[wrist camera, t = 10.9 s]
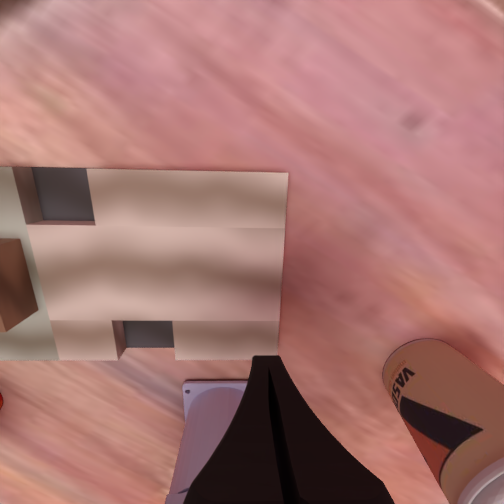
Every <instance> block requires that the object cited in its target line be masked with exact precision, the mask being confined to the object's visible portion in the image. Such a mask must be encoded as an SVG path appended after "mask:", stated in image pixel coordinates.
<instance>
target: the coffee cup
mask: <svg viewBox="0 0 504 504" xmlns="http://www.w3.org/2000/svg"><path fill="white" fill-rule="evenodd" d="M383 382H384V385H385V387H386V389H387V391H388V393H389V395H390V397H391V399H392V401H393V403H394V404H395V406H396V408H397V410H398V412H399V414H400V415H401V417H402V419H403V421H404V423H405V425H406V426H407V428H408V430H409V432H410V434H411V435H412V437H413V439H414V441H415V443H416V445H417V446H418V448H419V450H420V452H421V454H422V455H423V457H424V459H425V461H426V463H427V464H428V466H429V468H430V470H431V472H432V473H433V475H434V477H435V479H436V481H437V482H438V484H439V486H440V488H441V489H442V491H443V493H444V495H445V496H446V498H447V500H448V502H449V503H450V504H504V385H503V384H502V383H500V382H499V381H498V380H496V379H495V378H494V377H492V376H491V375H490V374H488V373H487V372H485V371H484V370H483V369H481V368H480V367H479V366H477V365H476V364H475V363H473V362H472V361H471V360H469V359H468V358H467V357H465V356H464V355H462V354H461V353H460V352H458V351H457V350H455V349H454V348H453V347H451V346H450V345H448V344H447V343H445V342H442V341H440V340H436V339H419V340H415V341H412V342H409V343H407V344H405V345H403V346H401V347H400V348H398V349H397V350H396V351H395V352H394V353H393V354H392V355H391V356H390V357H389V358H388V360H387V362H386V363H385V366H384V368H383Z"/></svg>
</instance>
